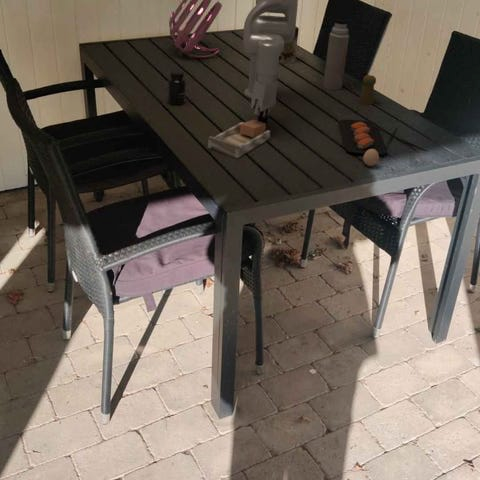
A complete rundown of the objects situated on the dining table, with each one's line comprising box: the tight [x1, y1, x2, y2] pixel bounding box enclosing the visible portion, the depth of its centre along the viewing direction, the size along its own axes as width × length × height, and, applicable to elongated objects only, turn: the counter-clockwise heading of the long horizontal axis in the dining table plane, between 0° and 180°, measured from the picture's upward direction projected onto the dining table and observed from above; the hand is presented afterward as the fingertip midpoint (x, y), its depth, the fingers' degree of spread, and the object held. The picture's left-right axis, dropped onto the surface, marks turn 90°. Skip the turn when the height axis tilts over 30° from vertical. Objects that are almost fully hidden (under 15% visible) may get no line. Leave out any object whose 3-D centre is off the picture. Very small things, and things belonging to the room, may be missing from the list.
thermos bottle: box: [322, 18, 350, 91], centre depth 277 cm, size 8×8×28 cm
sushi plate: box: [338, 119, 428, 156], centre depth 239 cm, size 29×30×4 cm
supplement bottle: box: [167, 70, 187, 106], centre depth 256 cm, size 7×7×12 cm
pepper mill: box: [357, 74, 377, 106], centre depth 268 cm, size 6×6×11 cm
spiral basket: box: [168, 0, 223, 59], centre depth 305 cm, size 28×28×27 cm
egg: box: [363, 149, 380, 167], centre depth 220 cm, size 5×5×6 cm
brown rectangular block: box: [240, 119, 267, 139], centre depth 235 cm, size 8×6×4 cm
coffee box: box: [278, 26, 299, 64], centre depth 306 cm, size 9×6×16 cm
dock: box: [207, 121, 271, 159], centre depth 230 cm, size 20×12×5 cm, turn 146°
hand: (262, 126), depth 240 cm, fingers closed
